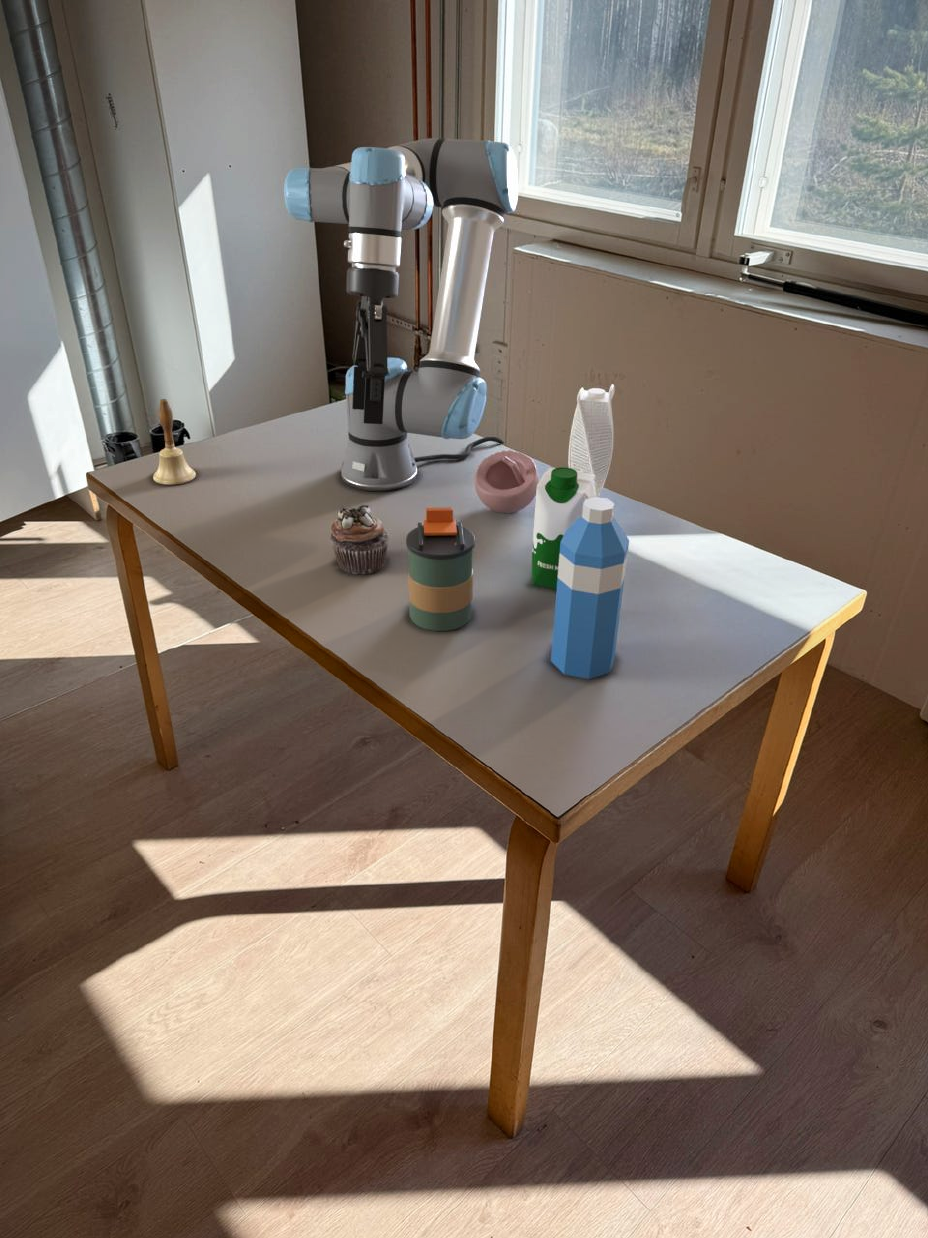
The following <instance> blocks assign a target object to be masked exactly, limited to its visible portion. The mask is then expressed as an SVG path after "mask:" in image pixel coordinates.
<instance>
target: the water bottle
mask: <svg viewBox="0 0 928 1238" xmlns="http://www.w3.org/2000/svg"><path fill="white" fill-rule="evenodd" d="M614 513H615V502H614V501H612V500H611V499H609V498H607V497H600V496H599V497H593V498H588V499H585V501H584V504H583V512H582V515H581V516H580V517H579V518H578V519H577V520H576V521H575V522H574V523H573V524H572V525H571V526H570V527H569V528H568V529H567V530H566V532H565V534H564V536H563V538H562V540H561V543H560V555H559V567H558V579H557V589H556V593H555V607H554V617H553V628H552V642H551V652H550V653H551V654H550V662H551V663H552V664H553V665H554V666H555V667H556V668H557V669H558V670H559V671H560V672H561V673H562V674H563V675H564V676H565V675H566V676H572V677H576V678H581V679H587V680H590V679H594V678H596V677H597V678H598V677H601V676H603V675H607V674H609V673H611V671H612V668H613V663H614V660H615V656H616V655H615V654H616V648H617V638H618V632H619V625H620V617H621V610H622V609H621V608H622V600H623V593H624V592H623V591H624V584H625V577H626V570H627V569H626V568H627V561H628V553H629V546H630V539H629V537H628V536H627V535H626V533H625V532H624V530H623V529H622V527H621V525H620V524H619V523H618V521H617V520H616V519H615V517H614Z"/></svg>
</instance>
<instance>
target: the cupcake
mask: <svg viewBox="0 0 928 1238" xmlns="http://www.w3.org/2000/svg"><path fill="white" fill-rule="evenodd" d="M371 513H372V510H371V507H369V505H365V504H362V505H360V506H358V507H357V508H356V507H352V508H350V509H349V508H345V507H343V506H341V507H340V508H339V511H338V514H337V515H338V516H337V518H336V519H335V520H334V521H333V523H332V524H331V527H330V529H331V535H330V542H331V544H332V548H333V551H334V555H335V558H336V561H337V563H338V566H339V568H340V569H341V570H342V571H343V572H346V573H347V574H352V575H368V574H373V573H376V572H379V571H380V570H382V569H383V568H384V566H385V563H386V557H387V554H388V553H387V552H388V547H389V541H390V535H389V533H388V532H387V531H386V530H385V528H384V525H383V522H382V521H381V520H380V519H379V518H377V517H375V516H374V515H371Z"/></svg>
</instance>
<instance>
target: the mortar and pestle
mask: <svg viewBox="0 0 928 1238" xmlns="http://www.w3.org/2000/svg"><path fill="white" fill-rule="evenodd" d="M474 473H475V474H474V489H475V491H476V494H477V497H478V498H479V500H480V501H481V502H482V504H483V505H484V506H486V507H487V508H488V509H490V510H491V511H493V512H496V513H500V514H513V513H517V512H520V511H522V510H523V509H525V508H527V507H528V506H529V505H530V504H531V503H532V501H534V499H535V498H536V491H537V485H538V483H539V482H540V475H539V471H538V468H537V465H536V463H535V461H534V460H533V459H532V457H530V456H528V455H527V454H525V453H523V452H521V451H514V450H512V449H510V450H501V451H496V452H494V453H493V454H490V455H489V456H487V457H485V458H484V459H483V460H482V461H481V462H480V463H479V465H478V466H477V468H476V470H475V472H474Z"/></svg>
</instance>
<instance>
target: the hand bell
mask: <svg viewBox="0 0 928 1238" xmlns="http://www.w3.org/2000/svg"><path fill="white" fill-rule="evenodd" d="M158 420H159V423H160V425H161V428H162V430H163V435H164V445H165V447H164V448H163V449H161V450H160V451H159V453H158V455H159V457H158V458H159V463H158V468H157V470H156V471H155V472H154V474H153V476H152V479H153V481H154V482H155V483H157V484H160V485H165V486H167V485H168V486H173V485H182V484H185V483H188V482H190V481H192V480H194V479H195V478H196V476H197V473H196V472H195V470H194V469H193V468H191V467H190V466H189V464H188V463H187V461H186V459H185V455H184V453H183V450H182V449H180V447H176V446H175V440H174V435H173V426H174V425H173V424H174V415H173V410H172V407H171V406H170V403H169V401H168V399H167V398H161V399H160V400H159V406H158Z"/></svg>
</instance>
